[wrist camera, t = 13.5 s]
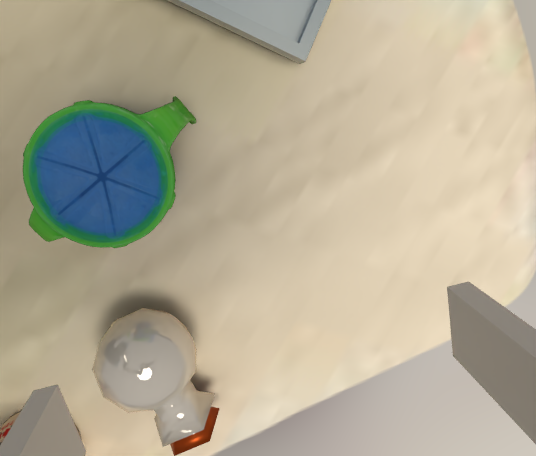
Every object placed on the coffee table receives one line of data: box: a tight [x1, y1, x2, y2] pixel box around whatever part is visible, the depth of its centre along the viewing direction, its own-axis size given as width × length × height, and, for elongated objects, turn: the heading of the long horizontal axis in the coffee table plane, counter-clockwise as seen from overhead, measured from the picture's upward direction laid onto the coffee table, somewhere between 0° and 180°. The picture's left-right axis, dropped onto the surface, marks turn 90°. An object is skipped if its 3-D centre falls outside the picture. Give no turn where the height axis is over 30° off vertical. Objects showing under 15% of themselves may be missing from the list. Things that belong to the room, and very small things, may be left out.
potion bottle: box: [92, 308, 219, 456], centre depth 43 cm, size 9×10×15 cm
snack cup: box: [23, 96, 196, 248], centre depth 36 cm, size 16×10×10 cm
